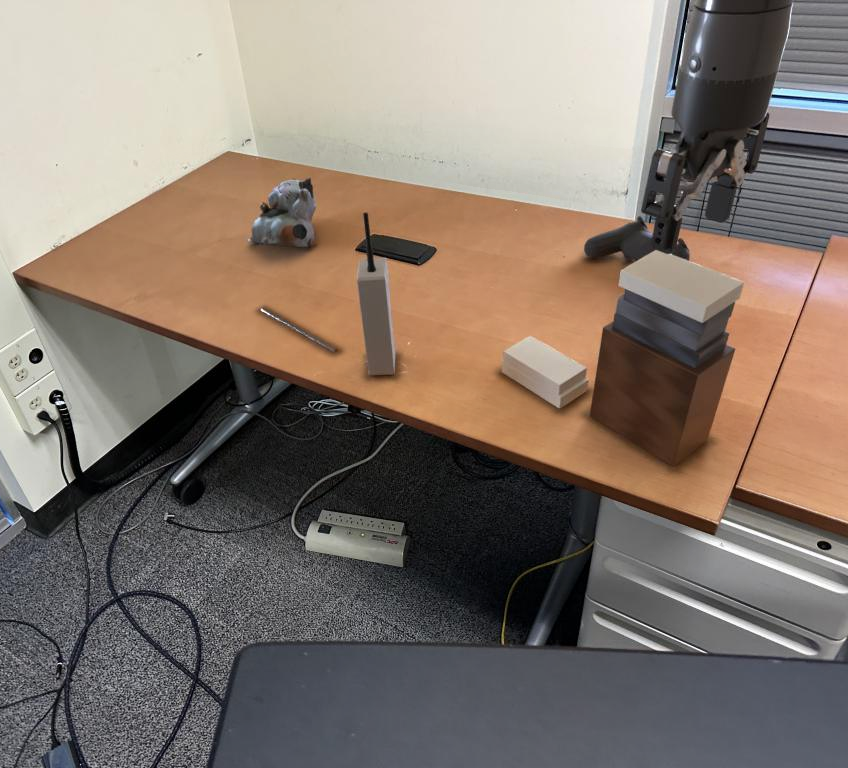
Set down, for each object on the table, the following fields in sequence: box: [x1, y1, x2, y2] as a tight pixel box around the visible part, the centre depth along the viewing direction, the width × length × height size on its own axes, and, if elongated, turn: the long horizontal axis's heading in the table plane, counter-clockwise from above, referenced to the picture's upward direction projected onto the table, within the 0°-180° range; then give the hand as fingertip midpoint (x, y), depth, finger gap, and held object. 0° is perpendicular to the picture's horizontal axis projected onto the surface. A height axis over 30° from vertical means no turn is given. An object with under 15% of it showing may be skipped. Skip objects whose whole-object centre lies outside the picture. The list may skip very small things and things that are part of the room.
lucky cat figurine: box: [246, 177, 317, 248], centre depth 132 cm, size 15×12×14 cm
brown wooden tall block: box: [589, 288, 736, 467], centre depth 79 cm, size 12×7×20 cm, turn 34°
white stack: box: [501, 335, 590, 409], centre depth 93 cm, size 10×5×4 cm, turn 34°
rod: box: [260, 307, 338, 354], centre depth 112 cm, size 1×19×1 cm, turn 42°
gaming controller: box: [583, 215, 691, 262], centre depth 111 cm, size 17×6×10 cm
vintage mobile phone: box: [356, 212, 396, 376], centre depth 94 cm, size 4×5×25 cm
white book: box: [618, 250, 745, 323], centre depth 72 cm, size 10×6×2 cm, turn 34°
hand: (690, 234), depth 68 cm, fingers open, 8 cm apart
